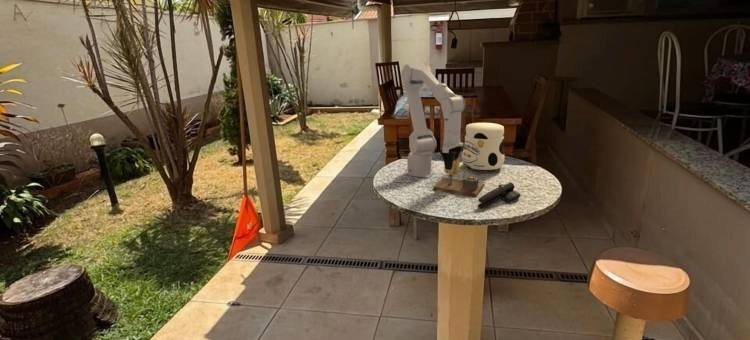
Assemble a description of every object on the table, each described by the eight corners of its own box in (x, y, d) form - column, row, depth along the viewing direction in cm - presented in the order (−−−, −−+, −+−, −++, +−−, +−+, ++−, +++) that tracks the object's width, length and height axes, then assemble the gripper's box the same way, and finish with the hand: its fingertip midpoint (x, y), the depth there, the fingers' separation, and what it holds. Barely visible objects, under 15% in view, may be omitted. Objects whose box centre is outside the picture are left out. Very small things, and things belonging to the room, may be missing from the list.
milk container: (455, 170, 162) (457, 128, 156) (469, 159, 176) (471, 120, 170) (497, 177, 153) (500, 132, 148) (507, 165, 167) (511, 124, 161)
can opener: (506, 193, 137) (507, 178, 136) (522, 200, 132) (524, 184, 130) (470, 205, 129) (470, 189, 127) (486, 212, 123) (487, 196, 121)
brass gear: (455, 175, 138) (456, 162, 137) (442, 173, 141) (442, 160, 139) (460, 171, 142) (461, 158, 141) (447, 169, 145) (448, 156, 143)
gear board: (433, 189, 142) (433, 176, 141) (443, 180, 151) (443, 167, 150) (476, 196, 135) (477, 182, 133) (484, 186, 144) (485, 173, 142)
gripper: (457, 136, 129) (455, 174, 133) (469, 127, 141) (467, 162, 145) (437, 134, 132) (436, 171, 136) (450, 125, 144) (449, 160, 148)
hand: (450, 167), depth 141 cm, fingers closed on brass gear, 5 cm apart
